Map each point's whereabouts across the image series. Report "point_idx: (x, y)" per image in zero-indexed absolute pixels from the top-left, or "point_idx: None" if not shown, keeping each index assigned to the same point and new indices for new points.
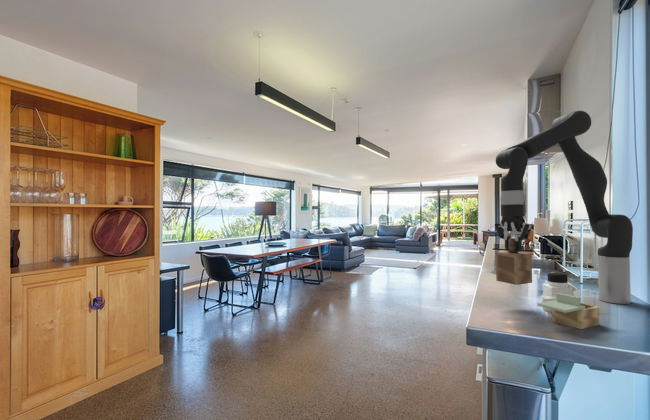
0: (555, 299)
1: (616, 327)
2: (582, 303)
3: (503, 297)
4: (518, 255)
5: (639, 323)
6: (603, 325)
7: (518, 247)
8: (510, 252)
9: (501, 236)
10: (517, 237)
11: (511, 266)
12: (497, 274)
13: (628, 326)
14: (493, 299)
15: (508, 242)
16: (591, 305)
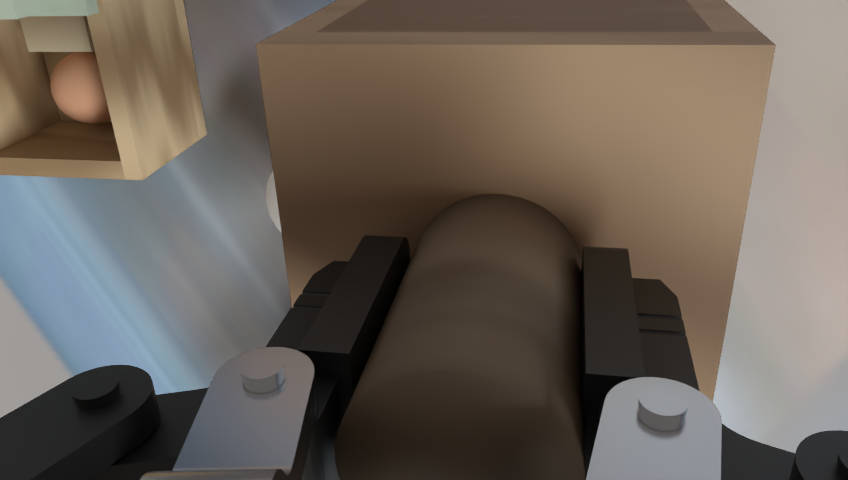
0: (266, 194)
1: (45, 204)
2: (63, 174)
3: (808, 262)
4: (274, 112)
5: (77, 359)
6: (82, 182)
7: (321, 292)
8: (492, 196)
9: (836, 477)
10: (211, 418)
11: (414, 1)
12: None
13: (49, 270)
14: (827, 129)
15: (537, 329)
16: (11, 171)
